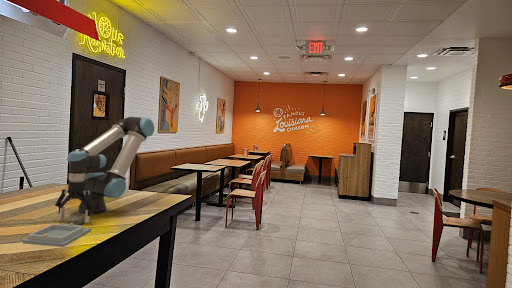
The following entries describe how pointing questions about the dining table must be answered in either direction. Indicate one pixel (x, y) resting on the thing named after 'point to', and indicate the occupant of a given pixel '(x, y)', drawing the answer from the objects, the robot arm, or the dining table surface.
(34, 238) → the bracket board
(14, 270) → the dining table surface
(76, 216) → the stone
